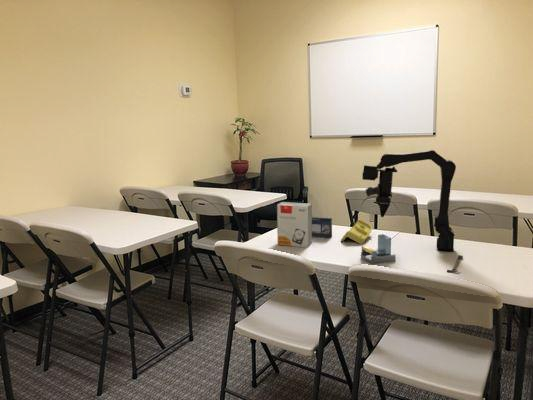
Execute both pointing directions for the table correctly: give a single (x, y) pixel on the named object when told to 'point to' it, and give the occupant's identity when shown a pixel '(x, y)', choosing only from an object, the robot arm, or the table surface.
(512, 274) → the table surface
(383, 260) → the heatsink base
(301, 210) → the hard drive box
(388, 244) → the grey-blue brushed block
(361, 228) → the plastic component
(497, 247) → the table surface
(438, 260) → the table surface
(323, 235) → the vhs cassette tape
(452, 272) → the tomahawk
